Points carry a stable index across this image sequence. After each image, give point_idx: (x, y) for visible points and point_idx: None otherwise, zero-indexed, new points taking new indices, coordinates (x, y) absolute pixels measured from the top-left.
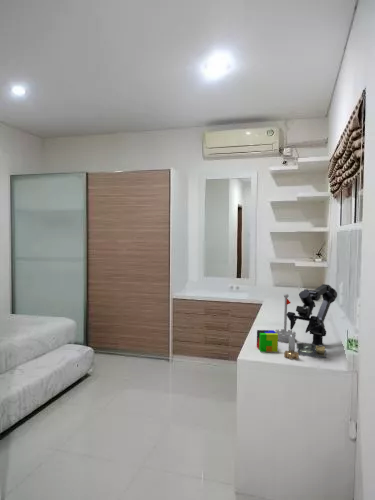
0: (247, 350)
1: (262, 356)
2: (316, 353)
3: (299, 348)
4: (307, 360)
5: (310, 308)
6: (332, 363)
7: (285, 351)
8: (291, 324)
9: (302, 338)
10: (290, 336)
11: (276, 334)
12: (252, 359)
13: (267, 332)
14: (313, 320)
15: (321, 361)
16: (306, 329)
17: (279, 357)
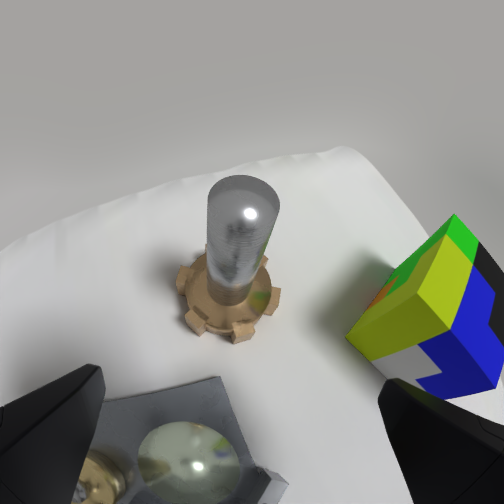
0: None
1: (341, 211)
2: (105, 445)
3: (255, 480)
4: (120, 299)
5: None
6: (9, 331)
7: (275, 288)
8: (445, 411)
9: None
10: (245, 179)
11: (427, 289)
12: (337, 162)
13: (479, 291)
14: None
15: (52, 332)
16: (71, 386)
17: (276, 246)
